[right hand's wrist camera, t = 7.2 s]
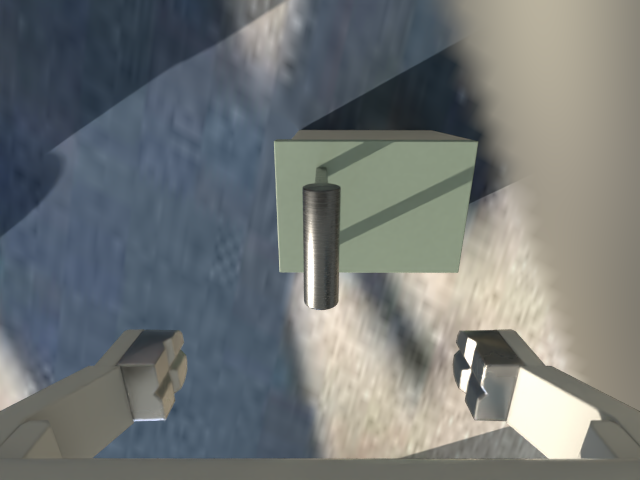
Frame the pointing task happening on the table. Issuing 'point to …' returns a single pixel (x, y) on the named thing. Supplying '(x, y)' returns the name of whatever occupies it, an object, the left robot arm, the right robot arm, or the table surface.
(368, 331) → the table surface
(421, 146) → the lid
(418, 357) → the table surface
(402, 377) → the table surface
